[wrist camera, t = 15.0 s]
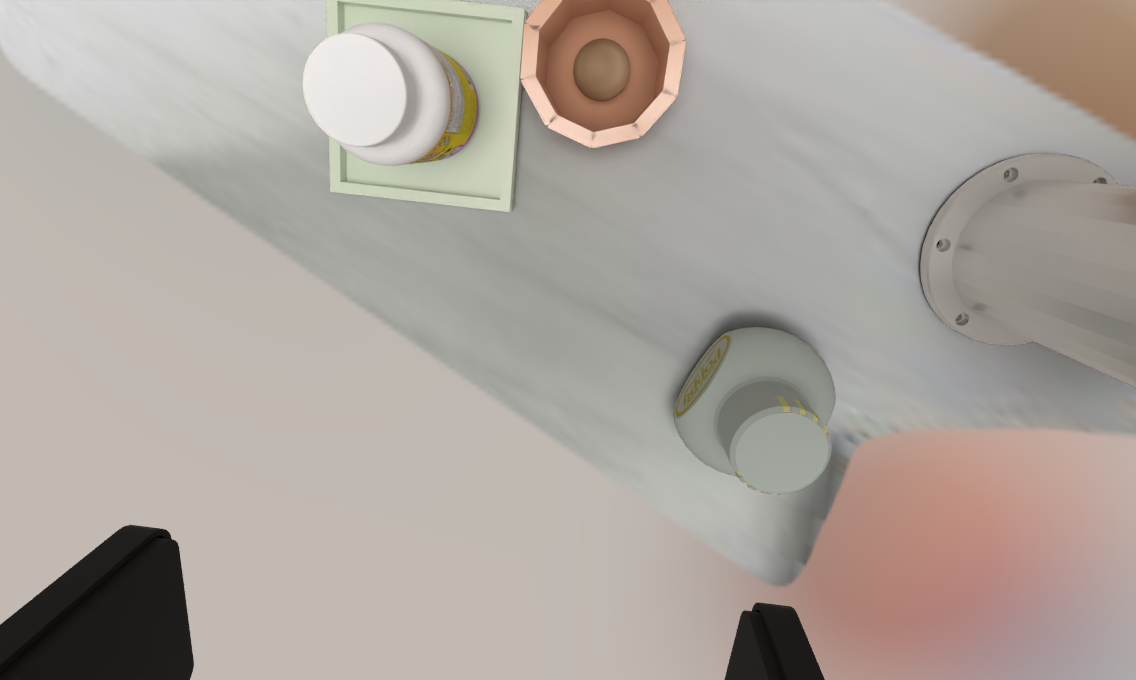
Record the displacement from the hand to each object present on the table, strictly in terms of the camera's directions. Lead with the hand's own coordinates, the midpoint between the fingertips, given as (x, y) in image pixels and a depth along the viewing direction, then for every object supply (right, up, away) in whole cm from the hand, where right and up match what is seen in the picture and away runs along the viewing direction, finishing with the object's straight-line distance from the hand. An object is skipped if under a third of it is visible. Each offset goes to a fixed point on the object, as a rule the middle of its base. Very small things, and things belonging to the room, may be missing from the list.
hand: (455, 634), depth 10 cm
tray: (-7, +20, +29) cm, 36 cm away
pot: (+4, +22, +28) cm, 35 cm away
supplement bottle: (-7, +20, +28) cm, 35 cm away
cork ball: (+4, +21, +27) cm, 35 cm away
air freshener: (+15, +1, +34) cm, 37 cm away
